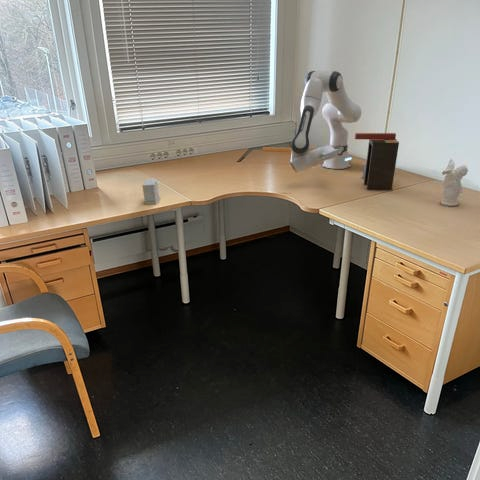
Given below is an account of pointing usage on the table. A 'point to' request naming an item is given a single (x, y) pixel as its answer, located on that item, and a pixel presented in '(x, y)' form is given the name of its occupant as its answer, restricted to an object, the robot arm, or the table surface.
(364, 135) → the red block
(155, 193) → the cosmetics box
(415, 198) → the table surface
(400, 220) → the table surface
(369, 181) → the stand
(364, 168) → the medicine box
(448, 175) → the cherub figurine
